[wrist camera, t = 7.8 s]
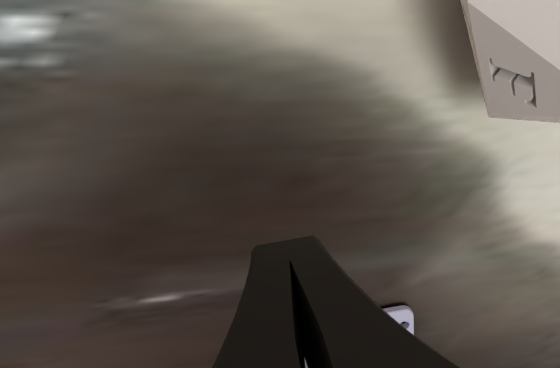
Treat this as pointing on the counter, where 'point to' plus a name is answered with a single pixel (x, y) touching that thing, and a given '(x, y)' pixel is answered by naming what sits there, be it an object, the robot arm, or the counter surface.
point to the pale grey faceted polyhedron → (517, 56)
